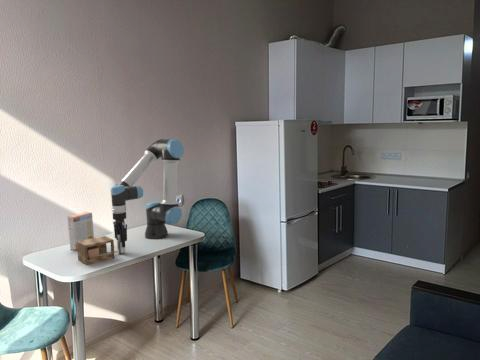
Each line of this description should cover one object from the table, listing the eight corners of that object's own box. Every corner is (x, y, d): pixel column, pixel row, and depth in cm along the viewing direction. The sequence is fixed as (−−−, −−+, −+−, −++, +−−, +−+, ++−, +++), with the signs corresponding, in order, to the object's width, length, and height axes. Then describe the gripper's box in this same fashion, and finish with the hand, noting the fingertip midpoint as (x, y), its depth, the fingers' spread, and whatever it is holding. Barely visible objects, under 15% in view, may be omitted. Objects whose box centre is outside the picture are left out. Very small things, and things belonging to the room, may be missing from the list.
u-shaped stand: (122, 251, 249) (121, 233, 247) (126, 253, 244) (125, 235, 243) (84, 260, 235) (83, 240, 233) (89, 262, 230) (87, 243, 229)
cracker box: (88, 243, 267) (86, 211, 264) (94, 244, 264) (92, 212, 261) (69, 249, 255) (66, 215, 252) (76, 251, 252) (73, 216, 249)
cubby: (106, 253, 245) (104, 235, 244) (114, 258, 237) (113, 239, 235) (78, 260, 235) (76, 241, 233) (86, 264, 226) (84, 245, 225)
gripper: (107, 211, 246) (109, 249, 249) (119, 215, 234) (122, 256, 237) (119, 209, 251) (121, 247, 254) (131, 213, 239) (134, 253, 242)
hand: (121, 251), depth 245 cm, fingers closed on u-shaped stand, 3 cm apart
